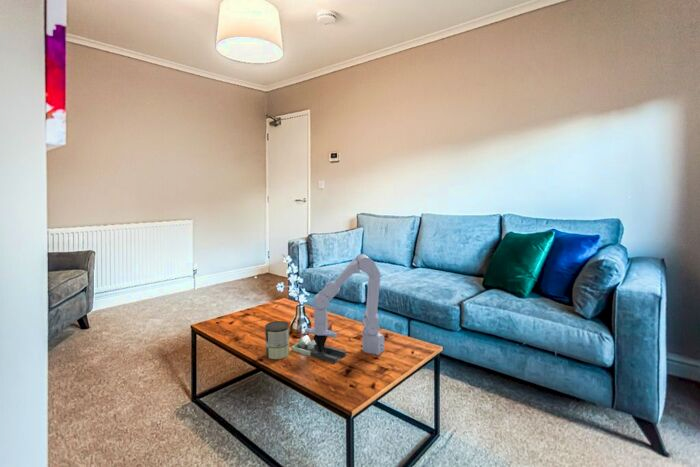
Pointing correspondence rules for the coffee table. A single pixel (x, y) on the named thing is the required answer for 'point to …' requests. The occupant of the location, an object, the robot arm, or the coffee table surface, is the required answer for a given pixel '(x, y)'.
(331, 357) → the slot board
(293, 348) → the tray
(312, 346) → the grey cube
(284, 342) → the coffee can
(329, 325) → the bull figurine
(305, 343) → the chip
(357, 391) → the coffee table surface
